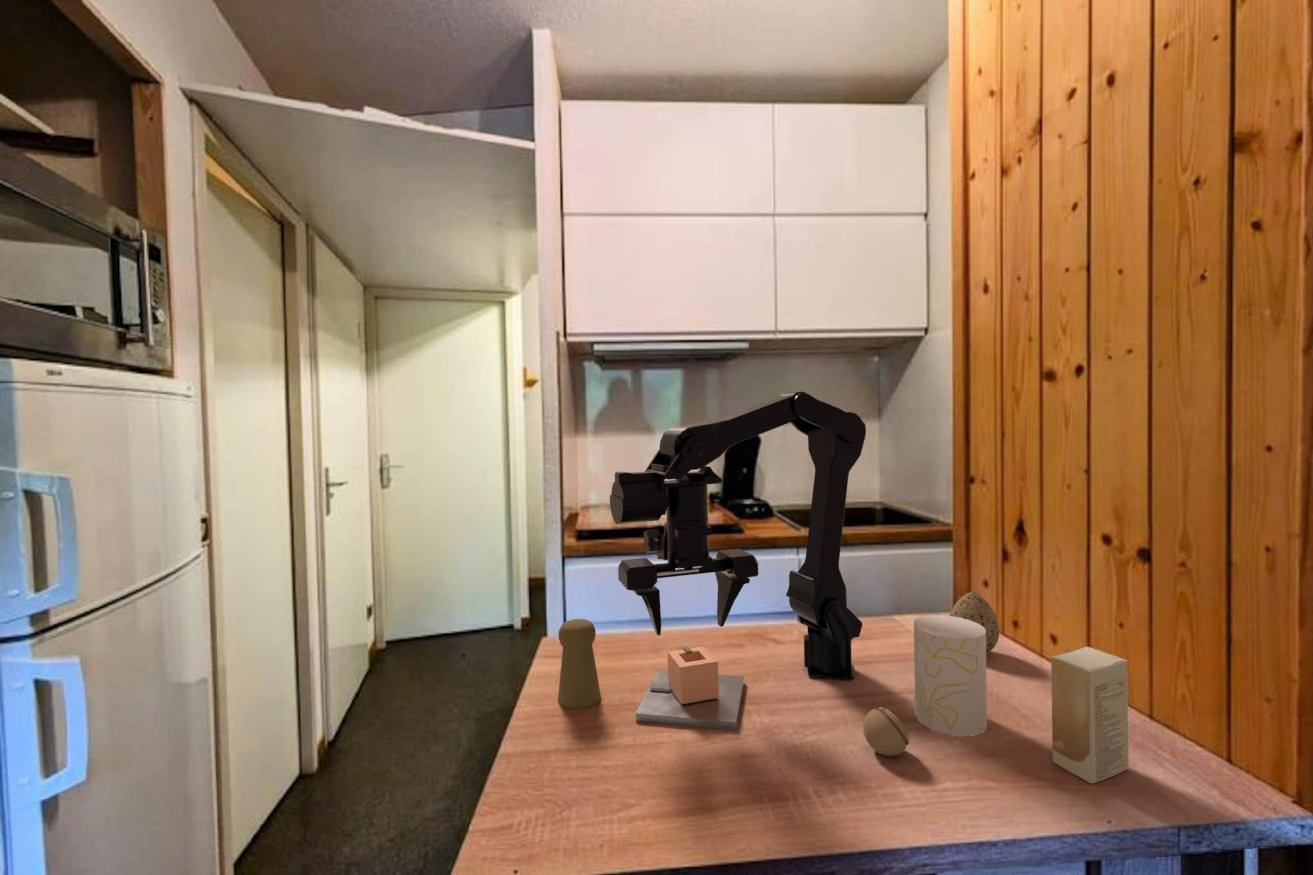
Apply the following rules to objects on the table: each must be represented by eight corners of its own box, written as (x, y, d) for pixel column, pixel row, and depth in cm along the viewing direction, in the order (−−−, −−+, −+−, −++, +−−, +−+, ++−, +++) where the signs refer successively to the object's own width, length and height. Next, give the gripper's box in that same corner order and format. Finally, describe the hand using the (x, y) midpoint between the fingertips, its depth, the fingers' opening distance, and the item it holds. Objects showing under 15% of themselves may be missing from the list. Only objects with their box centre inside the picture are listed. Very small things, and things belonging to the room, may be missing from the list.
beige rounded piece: (906, 770, 63) (905, 725, 63) (859, 757, 66) (858, 714, 66) (912, 747, 68) (912, 705, 67) (868, 736, 70) (867, 695, 70)
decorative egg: (1003, 651, 93) (1003, 590, 93) (994, 667, 88) (994, 602, 87) (955, 641, 98) (954, 583, 97) (943, 655, 92) (943, 593, 92)
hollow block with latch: (718, 697, 78) (717, 659, 78) (681, 704, 77) (680, 665, 76) (704, 680, 83) (703, 644, 83) (668, 686, 82) (667, 649, 82)
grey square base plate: (744, 682, 85) (743, 656, 85) (735, 730, 72) (735, 698, 72) (658, 676, 88) (657, 650, 88) (635, 720, 75) (634, 690, 75)
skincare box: (1088, 749, 66) (1088, 644, 66) (1130, 771, 62) (1130, 659, 62) (1049, 762, 64) (1048, 654, 63) (1090, 785, 60) (1090, 670, 59)
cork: (593, 710, 78) (590, 630, 78) (551, 707, 79) (548, 628, 79) (606, 689, 84) (603, 614, 84) (566, 686, 85) (564, 613, 85)
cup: (905, 721, 73) (904, 628, 73) (927, 697, 79) (926, 610, 79) (976, 744, 68) (975, 643, 67) (994, 716, 74) (993, 624, 73)
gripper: (726, 505, 89) (728, 604, 90) (608, 513, 84) (611, 619, 84) (759, 516, 79) (761, 628, 79) (626, 526, 73) (629, 647, 74)
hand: (689, 629), depth 79 cm, fingers open, 9 cm apart
